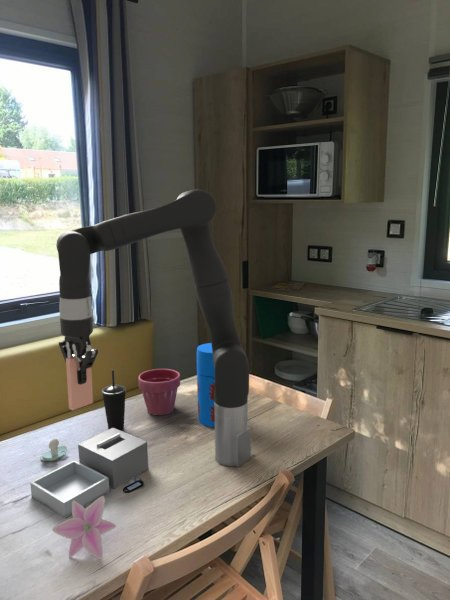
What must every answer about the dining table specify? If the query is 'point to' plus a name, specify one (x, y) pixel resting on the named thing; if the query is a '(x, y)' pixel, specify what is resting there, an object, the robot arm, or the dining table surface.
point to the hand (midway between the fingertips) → (79, 382)
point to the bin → (69, 487)
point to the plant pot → (159, 390)
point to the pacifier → (54, 451)
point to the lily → (85, 528)
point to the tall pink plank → (78, 386)
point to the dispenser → (115, 455)
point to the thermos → (205, 385)
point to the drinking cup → (114, 404)
